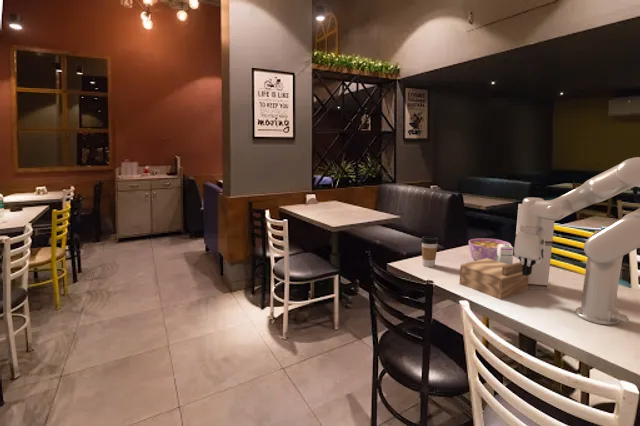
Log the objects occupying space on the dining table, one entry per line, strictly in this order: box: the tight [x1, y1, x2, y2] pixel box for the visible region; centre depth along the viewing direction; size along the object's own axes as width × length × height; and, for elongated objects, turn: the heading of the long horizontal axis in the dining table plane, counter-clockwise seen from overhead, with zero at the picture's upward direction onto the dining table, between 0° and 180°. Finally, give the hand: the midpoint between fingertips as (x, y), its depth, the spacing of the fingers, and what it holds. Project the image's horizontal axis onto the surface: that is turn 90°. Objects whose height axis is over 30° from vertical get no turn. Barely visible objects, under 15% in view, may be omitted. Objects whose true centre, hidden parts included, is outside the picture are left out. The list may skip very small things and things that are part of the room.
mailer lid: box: [460, 258, 522, 280], centre depth 158 cm, size 20×18×4 cm
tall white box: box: [514, 203, 555, 291], centre depth 160 cm, size 11×11×35 cm
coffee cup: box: [420, 235, 439, 268], centre depth 189 cm, size 8×8×15 cm
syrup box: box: [497, 244, 514, 265], centre depth 173 cm, size 6×6×14 cm
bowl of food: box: [468, 237, 512, 261], centre depth 190 cm, size 20×20×12 cm
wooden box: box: [459, 266, 529, 300], centre depth 159 cm, size 20×18×8 cm
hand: (526, 274), depth 146 cm, fingers closed
